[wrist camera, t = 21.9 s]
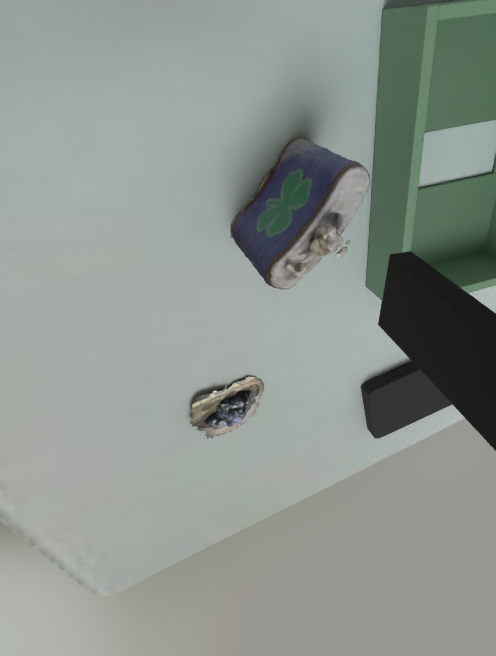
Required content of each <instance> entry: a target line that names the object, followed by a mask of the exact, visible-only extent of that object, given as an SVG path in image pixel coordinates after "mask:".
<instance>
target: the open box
mask: <svg viewBox="0 0 496 656" xmlns="http://www.w3.org/2000/svg"><path fill="white" fill-rule="evenodd" d="M495 119H496V0H457V1H448V2H440V3H431V4H423V5H414V6H406V7H397V8H388V9H383V11H382V28H381V45H380V62H379V79H378V95H377V112H376V129H375V146H374V163H373V179H372V196H371V213H370V230H369V246H368V263H367V280H366V287H367V288H368V289H369V290H370V291H372V292H373V293H374V294H375V295H376V296H377V297H379V298H380V299H381V300H382V299H383V293H384V287H385V281H386V275H387V269H388V263H389V257H390V254H395V253H402V252H409V251H411V252H413V253H414V254H415V255H417V256H418V257H419V258H421V259H422V260H423V261H425V262H426V263H428V264H429V265H430V266H432V267H433V268H434V269H436V270H437V271H438V272H440V273H441V274H442V275H444V276H445V277H447V278H448V279H449V280H451V281H452V282H453V283H455V284H456V285H457V286H459V287H460V288H462V289H463V290H464V291H466V292H467V293H469V292H473V291H476V290H480V289H484V288H487V287H491V286H495V285H496V156H495V161H494V166H493V171H492V173H489V174H485V175H480V176H475V177H471V178H466V179H461V180H456V181H452V182H447V183H442V184H437V185H433V186H428V187H423V188H419V189H418V184H419V175H420V167H421V158H422V149H423V141H424V133H425V132H430V131H435V130H441V129H446V128H452V127H457V126H463V125H468V124H474V123H479V122H485V121H490V120H495Z"/></svg>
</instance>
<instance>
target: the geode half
mask: <svg viewBox="0 0 496 656" xmlns="http://www.w3.org/2000/svg"><path fill="white" fill-rule="evenodd" d="M226 387H227V386H226ZM263 391H264V386H263V382H261V380H260V379H257V377H250V376H249V377H246V379H245V380H244V381H243V380H242V381H237V382H235V383H233V384H232V386H231V387H230V388H228V389H226V388H224V390H221V391H218V392H217V390H216V391H213V393H212V394H208V395H207V394H206V395H201V396H200V397H197V398H196V400H194V402H193V403H192V409H191V416H192V417H193V416H194V418H192V419H191V421H190V424H192V426H193V427H194V426H197V427H198V429H197V430H199V431H204V430H205V431H206V435H207V438H210V437H211V438H213V437H214V436H216V435H217V436H219V435H221V434H226V433H228V432H231V431H232V429H235V427H236V428H237V427H238V426H239V425H242V424H244V423H245V422H247V420H249V418H251V417H252V415H254V414H255V412H256V408H258V406H259V405H258V403H257V402H258V401H259V400H260V397H261V395H262V392H263ZM206 435H205V436H206Z"/></svg>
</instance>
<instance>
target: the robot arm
mask: <svg viewBox="0 0 496 656" xmlns="http://www.w3.org/2000/svg"><path fill="white" fill-rule="evenodd" d="M378 325H379V326H380V327H381V328H382V329H383V330H384V331H385V332H386V333H387V335H388V336H389V337H390V338H391V339H392V340H393V341H394V342H395V343H396V344H397V345H398V346H399V347H400V348H401V350H402V351H403V352H404V353H405V354H406V355H407V356H408V357H409V358H410V359H411V360H412V361H413V362H414V363H415V365H416V366H417V367H418V368H419V369H420V370H421V371H422V372H423V373H424V374H425V375H426V376H427V377H428V379H429V380H430V381H431V382H432V383H433V384H434V385H435V386H436V387H437V388H438V389H439V390H440V391H441V392H442V394H443V395H444V396H445V397H446V398H447V399H448V400H449V401H450V402H451V403H452V404H453V405H454V406H455V408H456V409H457V410H458V411H459V412H460V413H461V414H462V415H463V416H464V417H465V418H466V419H467V420H468V421H469V423H470V424H471V425H472V426H473V427H474V428H475V429H476V430H477V431H478V432H479V433H480V434H481V435H482V436H483V438H484V439H485V440H486V441H487V442H488V443H489V444H490V445H491V446H492V447H493V448H494V449H495V450H496V313H494V312H493V311H491V310H490V309H489V308H487V307H486V306H485V305H483V304H482V303H481V302H479V301H478V300H476V299H475V298H474V297H472V296H471V295H470V294H468V293H467V292H466V291H464V290H463V289H462V288H460V287H459V286H457V285H456V284H455V283H453V282H452V281H451V280H449V279H448V278H447V277H445V276H444V275H442V274H441V273H440V272H438V271H437V270H436V269H434V268H433V267H432V266H430V265H429V264H428V263H426V262H425V261H423V260H422V259H421V258H419V257H418V256H417V255H415V254H414V253H413V252H411V251H409V252H402V253H395V254H390V257H389V263H388V269H387V275H386V281H385V287H384V293H383V299H382V305H381V311H380V317H379V323H378Z"/></svg>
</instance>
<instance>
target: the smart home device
mask: <svg viewBox="0 0 496 656" xmlns="http://www.w3.org/2000/svg"><path fill="white" fill-rule="evenodd" d="M361 390H362V396H363V402H364V409H365V415H366V421H367V427H368V430H369V431H370V432H371V434H372V435H373V436H374V438H381V437H383V436H385V435H388V434H390V433H392V432H394V431H396V430H398V429H400V428H403V427H405V426H407V425H409V424H411V423H413V422H415V421H418V420H420V419H422V418H424V417H426V416H428V415H430V414H433V413H435V412H437V411H439V410H441V409H443V408H445V407H448V406H450V405H452V403H451V402H450V401H449V400H448V399H447V398H446V397H445V396H444V395H443V394H442V392H441V391H440V390H439V389H438V388H437V387H436V386H435V385H434V384H433V383H432V382H431V381H430V380H429V379H428V377H427V376H426V375H425V374H424V373H423V372H422V371H421V370H420V369H419V368H418V367H417V366H416V365H415V363H414V362H413V361H412V362H409V363H407V364H405V365H403V366H401V367H398V368H396V369H394V370H392V371H389V372H387V373H385V374H383V375H381V376H378V377H376V378H374V379H372V380H370V381H368V382H366V383H365V384H363V385H362V387H361Z"/></svg>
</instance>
